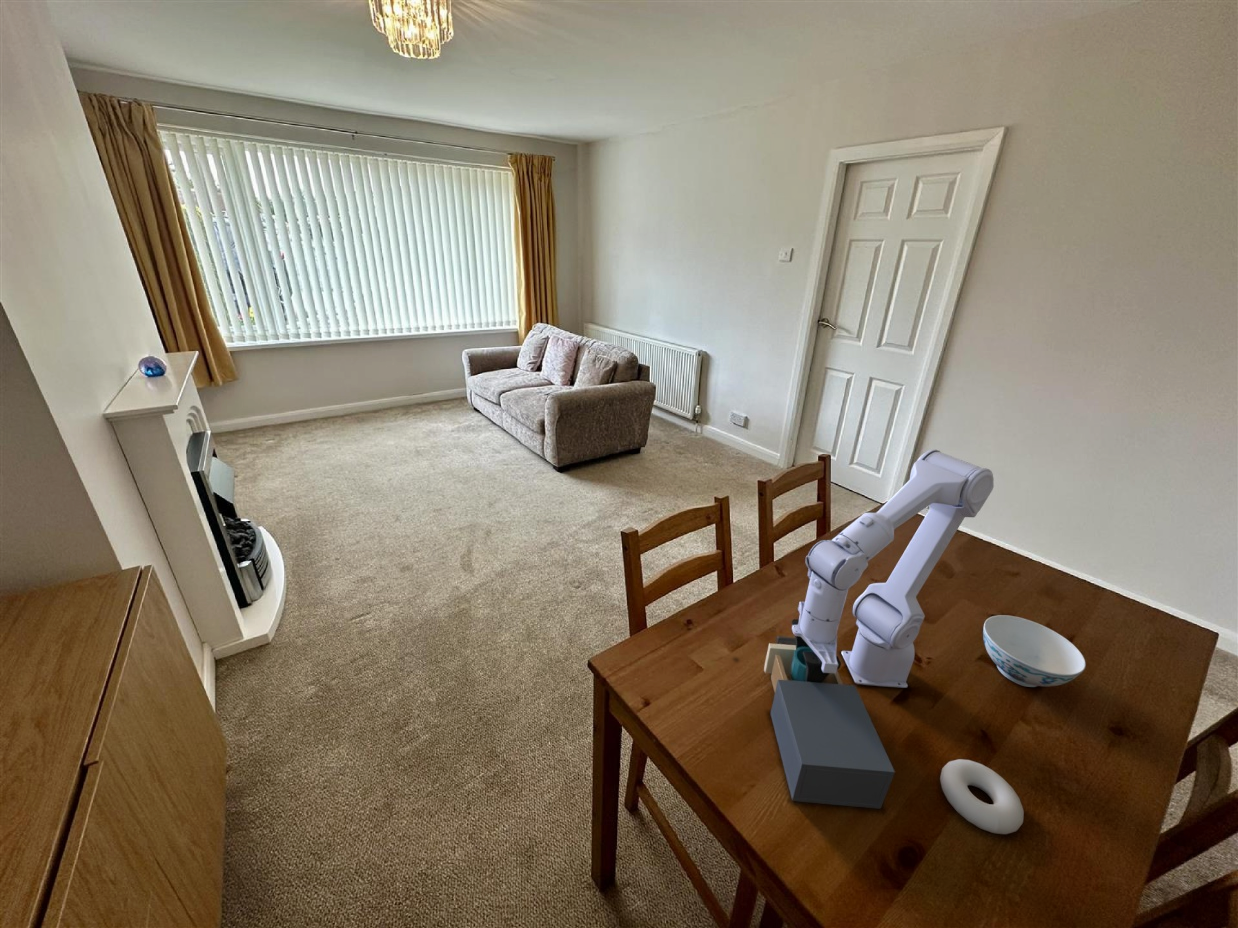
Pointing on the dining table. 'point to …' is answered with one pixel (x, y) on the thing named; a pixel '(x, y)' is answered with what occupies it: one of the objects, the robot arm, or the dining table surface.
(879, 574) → the dining table surface
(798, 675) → the cup
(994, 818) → the donut
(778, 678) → the drawer
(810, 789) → the cabinet
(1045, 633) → the chinaware
